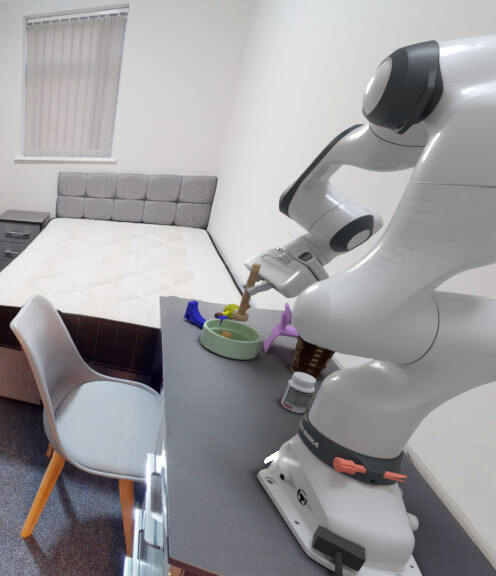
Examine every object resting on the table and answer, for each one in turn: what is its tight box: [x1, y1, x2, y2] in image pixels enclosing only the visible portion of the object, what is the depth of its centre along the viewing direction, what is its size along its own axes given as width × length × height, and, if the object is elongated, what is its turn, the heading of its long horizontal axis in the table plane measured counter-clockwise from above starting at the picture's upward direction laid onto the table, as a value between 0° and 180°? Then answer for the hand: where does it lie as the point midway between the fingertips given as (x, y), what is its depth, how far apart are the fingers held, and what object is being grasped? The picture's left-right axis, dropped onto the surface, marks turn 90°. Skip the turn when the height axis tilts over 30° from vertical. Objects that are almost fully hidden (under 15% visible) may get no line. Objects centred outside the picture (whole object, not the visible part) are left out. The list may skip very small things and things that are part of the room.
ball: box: [220, 331, 232, 339], centre depth 113 cm, size 3×3×3 cm
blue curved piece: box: [183, 300, 228, 329], centre depth 121 cm, size 12×4×6 cm, turn 25°
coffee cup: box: [289, 332, 336, 380], centre depth 97 cm, size 9×8×13 cm
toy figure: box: [213, 303, 250, 321], centre depth 124 cm, size 18×6×7 cm, turn 119°
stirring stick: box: [232, 263, 261, 323], centre depth 98 cm, size 4×4×16 cm
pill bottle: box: [280, 372, 317, 414], centre depth 85 cm, size 5×5×8 cm
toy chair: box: [263, 302, 298, 353], centre depth 106 cm, size 8×9×15 cm
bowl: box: [199, 318, 264, 360], centre depth 109 cm, size 15×15×6 cm
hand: (245, 290), depth 98 cm, fingers closed on stirring stick, 2 cm apart
